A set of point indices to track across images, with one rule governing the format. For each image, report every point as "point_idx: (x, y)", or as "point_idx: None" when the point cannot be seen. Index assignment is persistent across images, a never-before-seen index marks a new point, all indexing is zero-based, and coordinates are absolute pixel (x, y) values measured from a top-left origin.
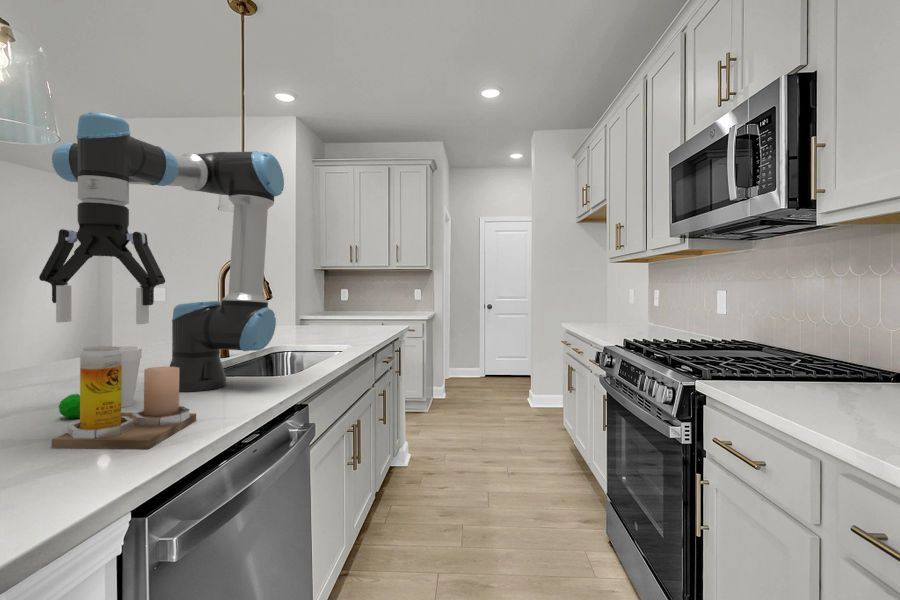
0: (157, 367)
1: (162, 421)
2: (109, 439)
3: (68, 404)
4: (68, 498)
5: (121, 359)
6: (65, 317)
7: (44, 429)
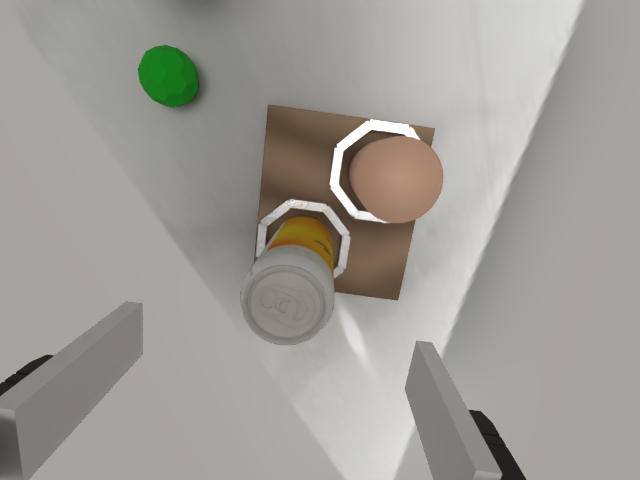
0: (379, 154)
1: None
2: (337, 290)
3: (168, 103)
4: (366, 434)
5: (332, 281)
6: (133, 342)
7: (180, 169)
